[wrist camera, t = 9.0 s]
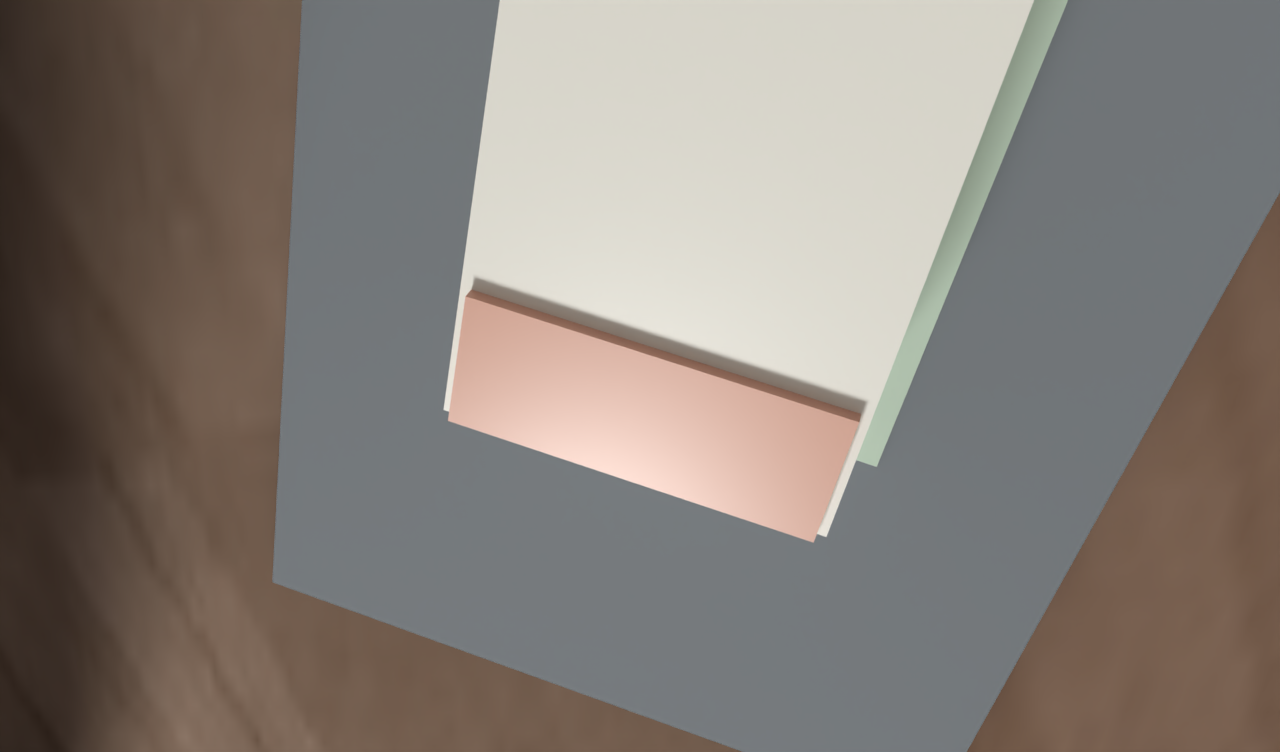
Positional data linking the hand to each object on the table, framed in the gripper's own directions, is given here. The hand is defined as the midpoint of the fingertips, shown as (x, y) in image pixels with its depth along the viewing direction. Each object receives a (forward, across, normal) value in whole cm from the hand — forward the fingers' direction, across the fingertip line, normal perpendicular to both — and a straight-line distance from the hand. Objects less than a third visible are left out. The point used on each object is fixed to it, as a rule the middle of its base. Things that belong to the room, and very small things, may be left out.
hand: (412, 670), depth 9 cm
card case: (+10, 0, -1) cm, 10 cm away
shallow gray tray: (+11, 0, +2) cm, 11 cm away
